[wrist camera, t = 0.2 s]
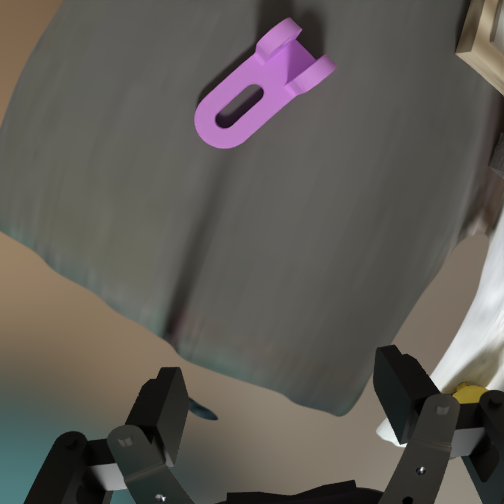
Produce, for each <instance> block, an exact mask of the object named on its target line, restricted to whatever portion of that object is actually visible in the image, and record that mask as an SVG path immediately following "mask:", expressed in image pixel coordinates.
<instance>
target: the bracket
mask: <svg viewBox="0 0 504 504" xmlns="http://www.w3.org/2000/svg"><path fill="white" fill-rule="evenodd" d="M301 31H302V29H301V28H300V27H299V26H298V25H297V24H296V23H295V22H294V21H293V20H292V19H291V18H287V19H285V20H283V21H282V22H280V23H279V24H277V25H276V26H275V27H274V28H272V29H271V30H270V31H269V32H268V33H267V34H265V35H264V36H263V37H262V38H261V39H260V41H259V42H258V43H257V45H256V52H255V53H254V54H253V55H252V56H251V57H250V58H249V59H247V60H246V61H245V62H244V63H243V64H242V65H240V66H239V67H238V68H237V69H236V70H235V71H234V72H232V73H231V74H230V75H229V76H228V77H227V78H226V79H225V80H223V81H222V82H221V83H220V84H219V85H218V86H217V87H216V88H215V89H214V90H213V91H212V92H210V93H209V94H208V95H207V96H206V97H205V98H204V99H203V100H202V101H201V103H200V104H199V106H198V108H197V110H196V113H195V127H196V130H197V132H198V134H199V136H200V137H201V138H202V139H203V140H204V141H205V142H206V143H208V144H209V145H211V146H214V147H217V148H232V147H235V146H238V145H240V144H241V143H243V142H244V141H245V140H246V139H247V138H248V137H250V136H251V135H252V134H253V133H254V132H255V131H256V130H257V129H258V128H260V127H261V126H262V125H263V124H264V123H265V122H266V121H267V120H269V119H270V118H271V117H272V116H273V115H274V114H275V113H277V112H278V111H279V110H280V109H281V108H282V107H284V106H285V105H286V104H287V103H288V102H289V101H291V100H292V99H293V98H294V97H295V96H297V95H299V94H302V93H305V92H307V91H308V90H310V89H311V88H313V87H314V86H315V85H317V84H318V83H319V82H321V81H322V80H323V79H324V78H326V77H327V76H328V75H329V74H330V73H332V72H333V71H334V70H335V69H336V68H337V66H336V65H335V63H334V62H333V61H332V60H331V59H330V58H329V57H328V56H327V55H326V54H325V55H323V56H322V57H320V58H319V59H317V60H315V59H314V58H313V56H312V55H311V54H310V53H309V52H308V51H307V50H306V49H305V48H304V47H303V46H302V45H301V44H300V43H299V42H298V41H297V40H296V38H297V37H298V35H299V34H300V32H301ZM251 84H257V85H259V86H261V87H262V89H263V91H264V95H263V98H262V99H261V100H260V101H259V102H258V103H257V104H255V105H254V106H253V107H252V108H251V109H250V110H249V111H248V112H247V113H245V114H244V115H243V116H242V117H241V118H240V119H239V120H238V121H237V122H236V123H234V124H233V125H232V126H231V127H229V128H221V127H220V126H219V125H218V124H217V122H216V116H217V114H218V113H219V112H220V111H221V110H222V109H223V108H224V107H225V106H226V105H227V104H228V103H229V102H230V101H232V100H233V99H234V98H235V97H236V96H237V95H238V94H239V93H240V92H241V91H243V90H244V89H245V88H246V87H247V86H248V85H251Z"/></svg>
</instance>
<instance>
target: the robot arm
mask: <svg viewBox="0 0 504 504" xmlns="http://www.w3.org/2000/svg"><path fill="white" fill-rule="evenodd" d="M373 384H374V389H375V392H376V394H377V396H378V398H379V401H380V403H381V405H382V407H383V409H384V411H385V413H386V415H387V418H388V420H389V422H390V424H391V426H392V428H393V431H394V433H395V435H396V437H397V439H398V442H399V444H400V445H401V444H405V443H407V445H406V448H405V450H404V452H403V455H402V457H401V459H400V461H399V463H398V465H397V468H396V470H395V472H394V474H393V476H392V478H391V480H390V482H389V484H388V486H387V488H386V489H385V491H384V492H382V491H379V490H375V489H370V488H359V487H356V484H355V480H350V481H345V482H339V483H334V484H328V485H323V486H320V487H317V488H314V489H311V490H309V491H305V492H302V493H299V494H296V495H279V494H271V493H264V492H241V493H240V492H238V493H237V492H236V493H227V500H226V501H223V502H219V503H216V504H434V502H435V499H436V497H437V494H438V491H439V488H440V485H441V483H442V480H443V476H444V474H445V470H446V467H447V464H448V461H449V457H457V456H461V458H462V460H463V462H464V464H465V466H466V468H467V470H468V473H469V475H470V477H471V479H472V481H473V483H474V485H475V487H476V490H477V492H478V494H479V496H480V499H481V501H482V503H483V504H504V392H502V391H499V390H489V391H486V392H485V393H483V394H482V395H481V397H480V399H479V402H476V403H462V404H460V403H459V402H458V400H457V399H456V398H455V397H453V396H451V395H448V394H441V393H440V391H439V390H438V388H437V387H436V386H435V384H434V383H433V381H432V380H431V379H430V377H429V376H428V374H426V372H425V371H424V369H423V368H422V366H421V365H420V364H419V362H418V361H417V359H415V358H413V357H412V356H410V355H408V354H403V355H402V354H401V352H400V351H399V350H398V348H397V347H396V346H395V345H389V346H384V347H378V348H377V349H376V354H375V364H374V374H373ZM135 402H136V403H134V405H133V407H132V410H131V412H130V414H129V416H128V418H127V420H126V423H125V425H123V426H119V427H117V428H115V429H113V430H112V431H111V432H110V433H109V435H108V437H107V438H106V439H100V440H91V441H87V439H86V437H85V435H83V434H82V433H80V432H76V431H70V432H66V433H64V434H62V435H60V436H59V437H58V438H57V439H56V441H55V442H54V444H53V446H52V448H51V450H50V452H49V454H48V456H47V457H46V459H45V461H44V463H43V465H42V467H41V469H40V471H39V473H38V475H37V477H36V479H35V481H34V483H33V485H32V487H31V489H30V491H29V493H28V495H27V497H26V499H25V501H24V504H110V501H111V497H112V494H113V491H114V490H119V489H128V490H129V492H130V494H131V496H132V498H133V499H134V501H135V503H136V504H195V503H194V502H193V500H192V499H191V498H190V496H189V495H188V494H187V493H186V491H185V490H184V489H183V487H182V486H181V485H180V483H179V482H178V480H177V479H176V478H175V476H174V475H173V474H172V472H171V471H170V469H169V468H168V467H167V466H170V467H174V465H175V462H176V458H177V454H178V449H179V445H180V441H181V437H182V433H183V429H184V425H185V421H186V417H187V414H188V409H189V398H188V393H187V390H186V386H185V382H184V379H183V375H182V371H181V369H180V367H162V368H161V369H160V371H159V373H158V376H157V378H156V379H150V380H149V381H147V382H146V383H145V384H144V385H143V386H142V388H141V390H140V392H139V396H138V397H137V399H136V401H135Z"/></svg>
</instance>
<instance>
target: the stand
mask: <svg viewBox="0 0 504 504" xmlns="http://www.w3.org/2000/svg"><path fill="white" fill-rule="evenodd" d="M455 54H456V55H457V56H459V57H460V58H461V59H462V60H464V61H465V62H466V63H467V64H469V65H470V66H471V67H472V68H473V69H475V70H476V71H477V72H478V73H479V74H480V75H482V76H483V77H484V78H485V79H486V80H487V81H488V82H489V83H491V84H492V85H493V86H494V87H495V88H496V89H497V90H498V91H499V92H500V93H501V94H502V95H503V96H504V0H471V1H470V5H469V9H468V13H467V16H466V20H465V23H464V27H463V30H462V33H461V37H460V40H459V43H458V46H457V49H456V52H455Z"/></svg>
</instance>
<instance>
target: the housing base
mask: <svg viewBox="0 0 504 504" xmlns="http://www.w3.org/2000/svg"><path fill="white" fill-rule="evenodd" d="M488 166H489V167H490V168H491V169H492V170H493V171H495V172H496V173H497V174H498V175H499V176H500V177H502V178H503V179H504V133H503V132H501V134H500V137H499V140H498V142H497V145H496V148H495V150H494V153H493V155H492V158H491V160H490V163H489V165H488Z"/></svg>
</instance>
